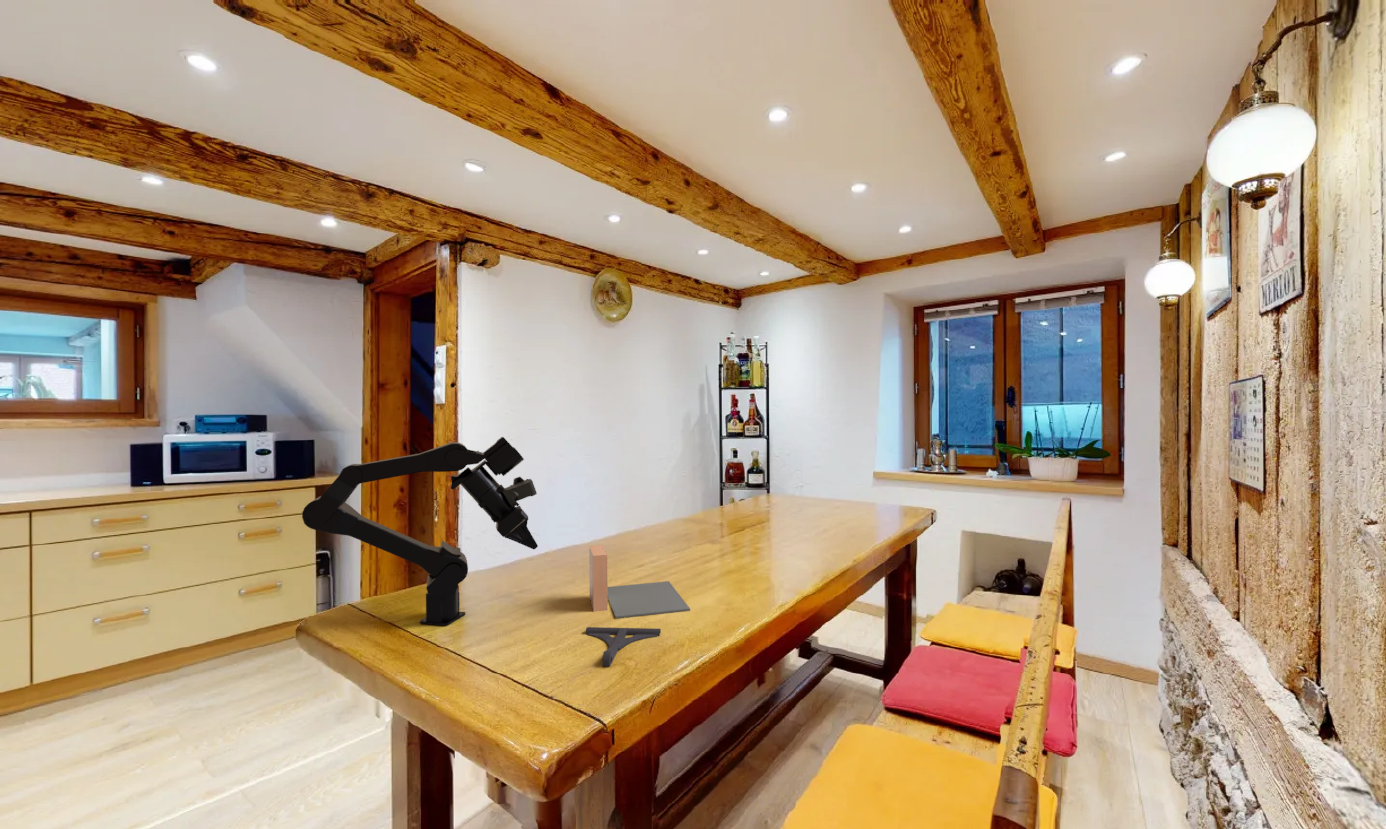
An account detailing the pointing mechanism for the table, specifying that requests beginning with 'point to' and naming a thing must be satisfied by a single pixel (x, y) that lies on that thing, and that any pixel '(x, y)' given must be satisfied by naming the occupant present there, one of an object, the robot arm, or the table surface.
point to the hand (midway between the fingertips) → (533, 543)
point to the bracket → (619, 639)
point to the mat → (645, 599)
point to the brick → (598, 578)
